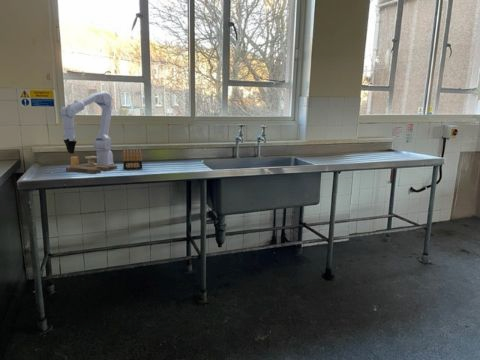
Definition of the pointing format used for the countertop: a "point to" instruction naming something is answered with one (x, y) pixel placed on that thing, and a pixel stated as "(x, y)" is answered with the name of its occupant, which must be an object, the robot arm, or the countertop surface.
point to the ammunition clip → (132, 160)
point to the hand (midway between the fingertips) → (70, 152)
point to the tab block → (74, 161)
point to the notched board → (91, 168)
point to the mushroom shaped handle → (91, 161)
